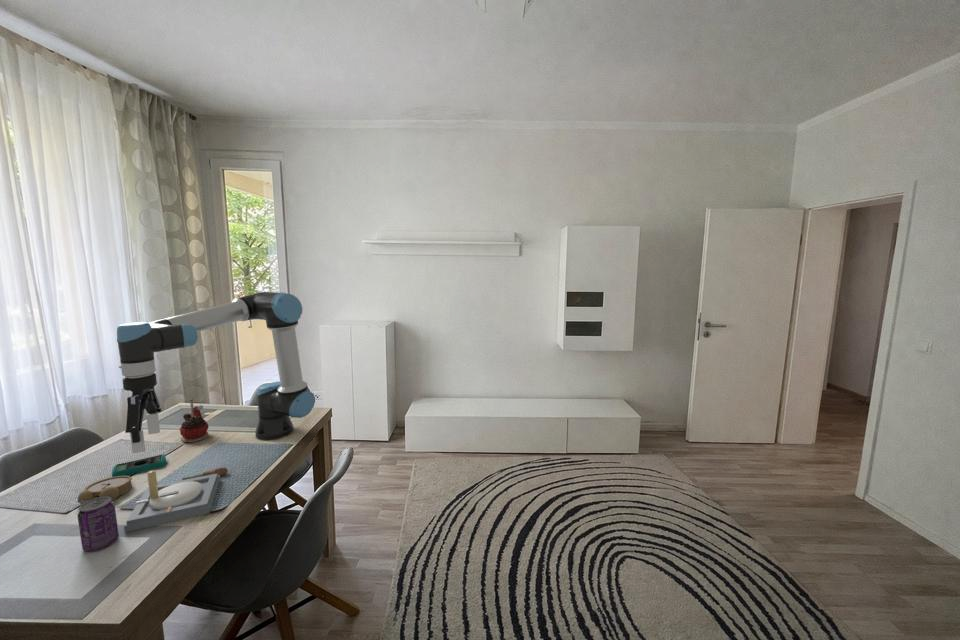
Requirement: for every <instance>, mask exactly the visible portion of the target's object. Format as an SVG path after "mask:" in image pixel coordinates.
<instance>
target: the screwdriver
mask: <svg viewBox="0 0 960 640" xmlns="http://www.w3.org/2000/svg"><path fill="white" fill-rule="evenodd" d="M217 473H218V475H220V477H221V476H225V475H226V474H227V473H228V468H227V467H224V466H223V467H218V468H215V469H214V468H213V469H209V470H208V469H207V470H204V471H203V472H202V473H201V474H195V475H191V476H185V477H181V478H182V479H181V480H186V479H191V478H196V477H201V476H207V475H212V474H217Z"/></svg>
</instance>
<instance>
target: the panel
mask: <svg viewBox="0 0 960 640" xmlns="http://www.w3.org/2000/svg"><path fill="white" fill-rule="evenodd" d="M188 481H194V482H199V483H200V484H201V485H202V493H201V494H200V495H199V496H198V497H197V498H196V499H194V500H193V501H191V502H189V503H187V504H185V505H183V506H179V507H174V508H172V506H171V507H168V509H165V510H155V509H152V508H151V507H150V492H149V486H148V487H146V490H145V491H144V493H143V494H142V496H141V497H140V499H139V500H136V502H135V504H136V505H135V507H134V509H133V510H132V512H130V515H129V517H128V518H127V520H126V522H125V524H124V525H123V531H124V533H129V532H133V531H137V530H142V529H146V528H150V527H151V528H152V527H154V526H155V527H156V526H158V525H163V524H164V525H165V524H168V523H173V522H176V521H177V522H178V521H181V520H185V519H190V518H194V517H199V516H203V515H207V514H210V513H211V510H212V507H213V505H214V500H215V498H216V494H217V492H216V491H218V489H217V488H219V486H220V485H219V484H220V482H221V476H220V475H218V473H217V474H212V475H207V476H201V477H196V478H191V479H186V480H182V479H181V480H177V481H176V480H175V481H171V482H166V483H160V484H157V486H158V491H159V490H161V489H163V488H165V487H168V486H170V485H173V484H177V483H181V482H188Z"/></svg>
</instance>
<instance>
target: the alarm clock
mask: <svg viewBox="0 0 960 640" xmlns="http://www.w3.org/2000/svg"><path fill="white" fill-rule="evenodd" d="M132 480H133V478H132V477H131V476H129V475H126V476H116V477H112V476H111V477H107V478H103V479H101V480H98V481H95V482H92V483H90V484H89V485H87V486H85V488H84V490H82V491H81V492H80V493H79V494H78V497H77V502H78V503H79V504H80V506H81V505H82V504H84V503H86V502H88V501H90V500H93V499H96V498H99V497H111V501H113V502H114V501H115V500H116V499H118V497H119V496H121V495H124V494H125V493H128V492H129V491H131V490H132V487H133V486H132Z"/></svg>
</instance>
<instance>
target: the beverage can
mask: <svg viewBox="0 0 960 640" xmlns="http://www.w3.org/2000/svg"><path fill="white" fill-rule="evenodd" d="M78 510H79V511H78V513H77V522H78V523H77V524H78V527H79V529H78V530H79V535H80V541H81V543H80V544H81V548H82V550H83V551H86V552H91V551H98V550H101V549H104V548H105V547H107V546H109V545H111V544H112V543H114V542H116V541H117V539H118V538H119V537H120V535H119V527H118V519H117V513H116V512H117V511H116V505H115V503H114V500H113V501H111V497H99V498H96V499H93V500H90V501H88V502H86V503H84V504H82V505H81V504H80V506H79V507H78Z"/></svg>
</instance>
